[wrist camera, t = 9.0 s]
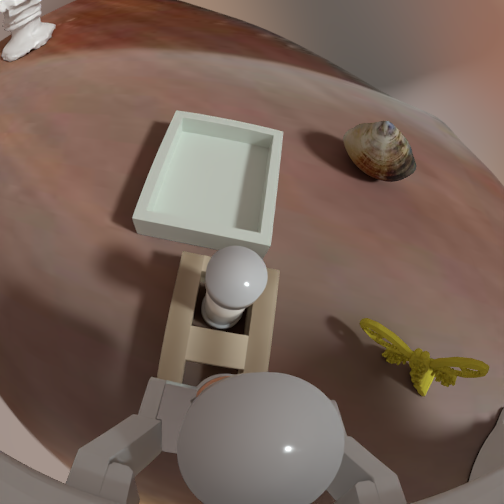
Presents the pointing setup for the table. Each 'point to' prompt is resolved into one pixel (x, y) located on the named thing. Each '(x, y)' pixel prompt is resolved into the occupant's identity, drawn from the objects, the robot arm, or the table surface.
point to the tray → (212, 184)
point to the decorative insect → (422, 360)
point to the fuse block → (213, 341)
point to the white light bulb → (232, 285)
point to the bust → (23, 27)
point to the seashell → (380, 151)
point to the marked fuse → (259, 440)
